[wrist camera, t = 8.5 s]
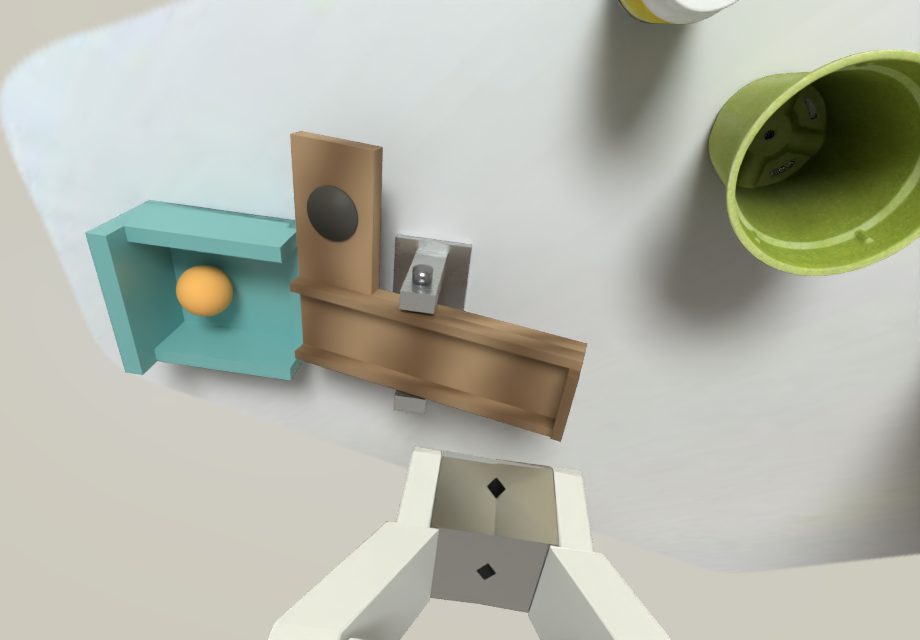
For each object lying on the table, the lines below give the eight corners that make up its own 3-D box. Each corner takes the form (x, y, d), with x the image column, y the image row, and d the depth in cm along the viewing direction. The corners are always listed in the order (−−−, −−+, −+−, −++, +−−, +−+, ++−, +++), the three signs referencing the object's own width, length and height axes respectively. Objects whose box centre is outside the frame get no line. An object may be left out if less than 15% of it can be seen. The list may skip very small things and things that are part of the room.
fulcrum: (472, 241, 34) (463, 286, 28) (455, 368, 39) (446, 426, 34) (397, 231, 34) (374, 274, 28) (391, 358, 39) (370, 415, 34)
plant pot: (720, 243, 32) (780, 311, 25) (645, 118, 29) (690, 154, 22) (882, 150, 29) (1008, 197, 21) (818, -5, 26) (942, -12, 18)
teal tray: (306, 221, 34) (269, 258, 29) (312, 345, 39) (281, 395, 34) (149, 200, 34) (85, 232, 29) (175, 325, 40) (125, 372, 35)
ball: (232, 276, 33) (171, 282, 32) (238, 322, 35) (181, 329, 34) (228, 254, 36) (171, 258, 35) (234, 297, 38) (180, 303, 36)
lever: (629, 195, 25) (626, 212, 22) (565, 418, 32) (558, 449, 30) (300, 130, 29) (269, 139, 26) (311, 343, 36) (288, 364, 34)
